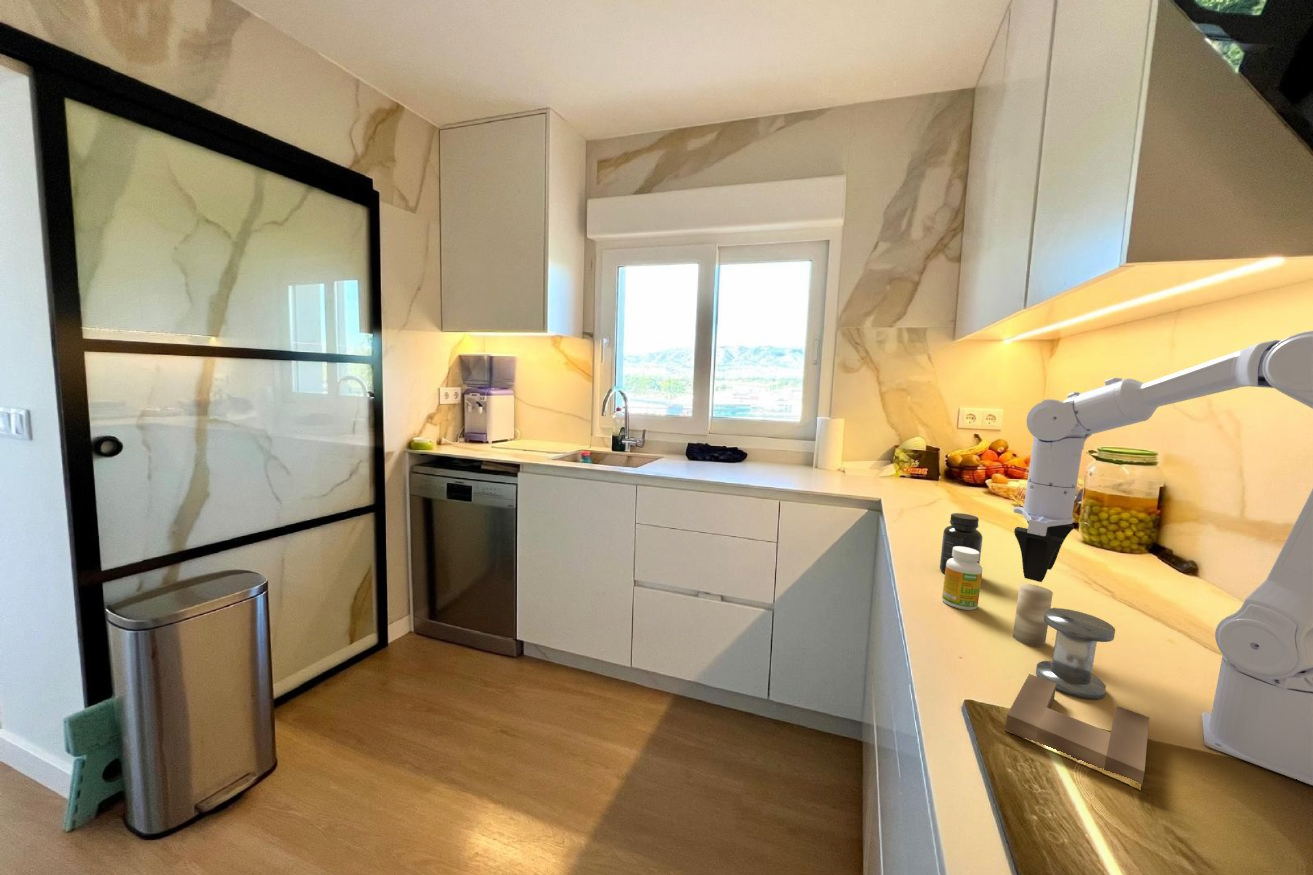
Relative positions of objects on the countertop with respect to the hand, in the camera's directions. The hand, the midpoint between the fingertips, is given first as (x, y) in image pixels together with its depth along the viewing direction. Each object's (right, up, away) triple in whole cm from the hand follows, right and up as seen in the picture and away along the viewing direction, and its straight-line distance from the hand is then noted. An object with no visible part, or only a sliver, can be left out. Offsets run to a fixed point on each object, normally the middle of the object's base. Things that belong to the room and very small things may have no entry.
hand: (1038, 573), depth 77 cm
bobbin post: (-3, -12, -10) cm, 16 cm away
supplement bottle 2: (-4, -9, +13) cm, 16 cm away
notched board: (-10, -12, -20) cm, 26 cm away
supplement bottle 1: (+4, -8, +28) cm, 29 cm away
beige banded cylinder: (-1, -10, +1) cm, 10 cm away
